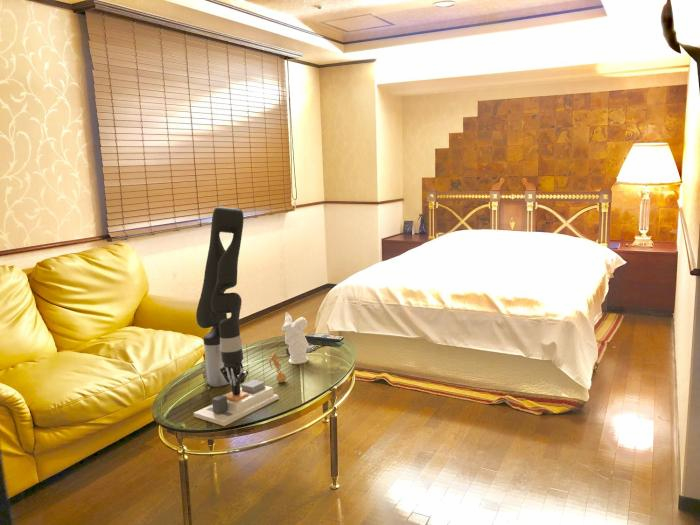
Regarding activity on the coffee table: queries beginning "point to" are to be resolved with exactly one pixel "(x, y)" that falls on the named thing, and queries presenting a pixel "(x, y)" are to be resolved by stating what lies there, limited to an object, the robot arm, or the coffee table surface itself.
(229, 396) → the orange button
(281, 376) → the figurine
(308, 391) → the coffee table surface
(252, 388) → the grey button
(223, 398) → the dark grey block
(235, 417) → the control panel
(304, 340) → the cherub figurine
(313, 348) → the walkie-talkie
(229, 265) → the robot arm
